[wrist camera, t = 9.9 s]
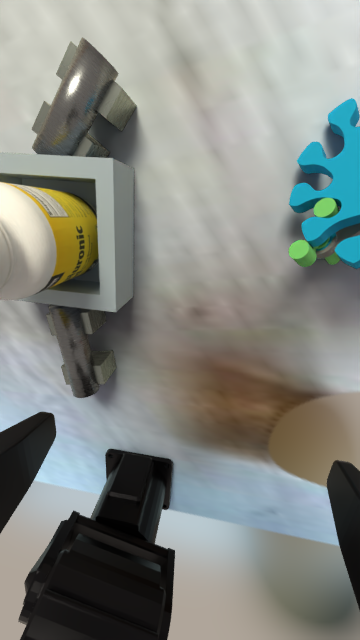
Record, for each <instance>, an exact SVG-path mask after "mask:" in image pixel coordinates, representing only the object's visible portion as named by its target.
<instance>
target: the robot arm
mask: <svg viewBox="0 0 360 640" xmlns="http://www.w3.org/2000/svg"><path fill="white" fill-rule="evenodd" d="M55 437H56V426H55V418H54V415H53V414H52V413H48V412H39V413H37V414H35V415H33V416H31V417H29V418H27V419H25V420H23V421H21V422H20V423H18V424H16V425H14V426H12V427H10V428H8V429H6V430H4V431H2V432H0V533H1V532H2V530H3V528H4V527H5V525H6V524H7V522H8V520H9V519H10V517H11V516H12V514H13V513H14V511H15V509H16V508H17V506H18V505H19V503H20V502H21V500H22V499H23V497H24V495H25V494H26V492H27V491H28V489H29V487H30V486H31V484H32V482H33V480H34V479H35V477H36V475H37V473H38V471H39V469H40V467H41V465H42V463H43V461H44V459H45V457H46V455H47V453H48V451H49V449H50V448H51V446H52V444H53V442H54V440H55ZM105 456H106V478H107V481H106V484H105V486H104V488H103V491H102V493H101V495H100V498H99V500H98V502H97V504H96V506H95V509H94V511H93V513H92V516H91V518H87V517H85V516H82V515H80V513H78V512H76V511H73V512H72V514H71V516H70V518H69V519H68V520H65V521H61V523H60V525H59V527H58V529H57V531H56V532H55V534H54V536H53V538H52V540H51V542H50V543H49V545H48V546H47V548H46V549H45V551H44V553H43V554H42V555H41V557H40V558H39V560H38V561H37V562H36V564H35V565H34V567H33V568H32V570H31V571H30V572H29V574H28V576H27V578H26V580H25V591H26V597H25V599H24V603H23V605H24V606H23V609H22V611H21V614H20V617H19V622H21V623H23V624H26V628H25V630H24V632H23V635H22V637H21V639H20V640H167V637H168V633H169V627H170V621H171V613H172V598H173V579H174V559H175V550H172V549H170V548H168V549H166V548H164V547H161V546H158V545H155V538H156V534H157V530H158V525H159V520H160V516H161V511H162V509H164V510H167V509H168V508H169V505H170V494H171V481H172V469H173V462H172V461H171V460H170V459H165V458H160V457H154V456H149V455H143V454H137V453H132V452H126V451H121V450H115V449H108V450H107V452H106V455H105ZM327 489H328V494H329V499H330V503H331V508H332V513H333V517H334V522H335V527H336V532H337V536H338V540H339V545H340V548H341V552H342V555H343V559H344V561H345V565H346V568H347V571H348V574H349V578H350V581H351V584H352V587H353V590H354V594H355V597H356V600H357V603H358V606H359V610H360V471H359V470H358V469H357V468H356V467H355V466H354V465H353V464H351V463H349V462H345V461H339V460H336V461H334V463H333V465H332V467H331V470H330V473H329V476H328V479H327Z"/></svg>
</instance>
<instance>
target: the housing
mask: <svg viewBox="0 0 360 640" xmlns="http://www.w3.org/2000/svg"><path fill="white" fill-rule="evenodd" d="M0 182H4V183H10V184H16V185H24V186H31V187H38V188H45V189H51V190H58V191H65V192H69V193H73V194H76V195H78V196H80V197H82V198H83V199H85V200H86V201H88V202H89V203H90V204H91V205H92V206H93V207H94V208H95V209H96V210H97V229H98V253H99V263H98V264H97V265H96V266H95V267H94V268H93V269H91V270H90V271H88V272H86V273H84V274H82V275H79V276H77V277H75V278H72V279H70V280H67V281H65V282H63V283H60V284H58V285H56V286H53V287H51V288H48V289H46V290H44V291H42V292H40V293H37V294H34V295H32V296H29V297H26V298H23V299H18V300H17V301H26V302H34V303H43V304H51V305H59V306H68V307H76V308H84V309H93V310H101V311H110V312H117V311H118V310H119V309H120V308H121V307H122V306H123V305H125V304H126V303H127V302H128V301H129V300H130V299H131V298H132V297H133V279H134V168H132V167H130V166H128V165H126V164H123V163H121V162H119V161H117V160H115V159H113V158H98V157H79V156H60V155H41V154H22V153H3V152H0Z"/></svg>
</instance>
